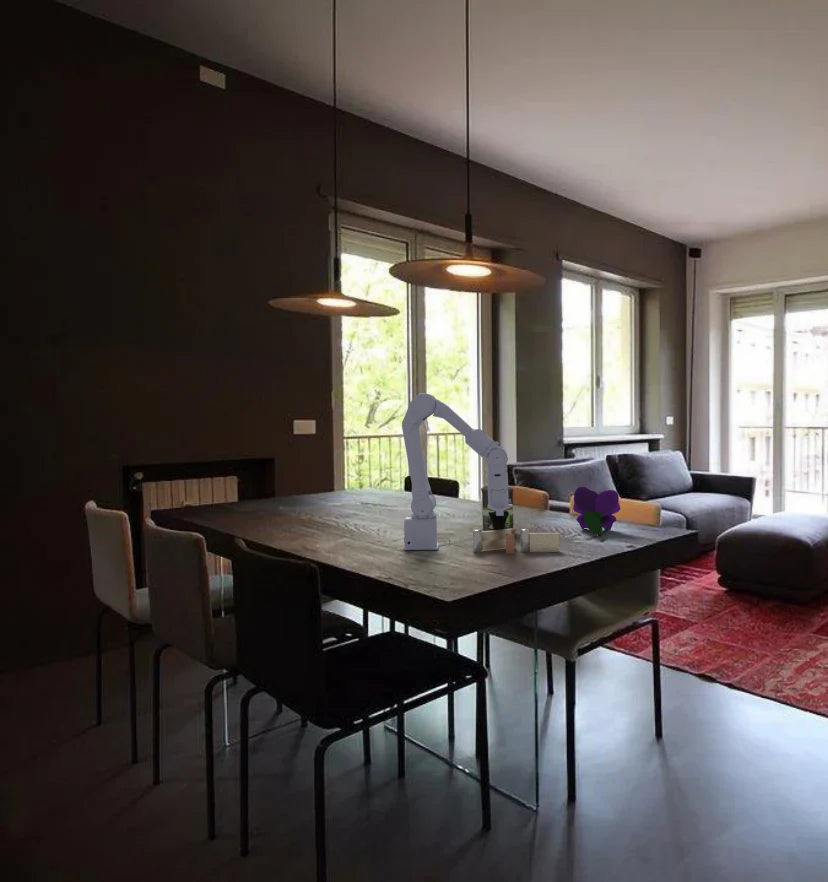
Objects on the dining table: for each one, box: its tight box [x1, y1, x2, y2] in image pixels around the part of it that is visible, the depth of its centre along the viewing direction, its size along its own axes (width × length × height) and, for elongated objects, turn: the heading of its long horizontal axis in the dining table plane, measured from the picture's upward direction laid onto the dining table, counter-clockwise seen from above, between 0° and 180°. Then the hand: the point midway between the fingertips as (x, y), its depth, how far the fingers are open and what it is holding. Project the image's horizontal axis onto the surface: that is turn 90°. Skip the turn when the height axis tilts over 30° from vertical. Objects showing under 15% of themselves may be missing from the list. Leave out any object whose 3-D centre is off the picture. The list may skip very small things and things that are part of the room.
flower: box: [572, 486, 621, 537], centre depth 198 cm, size 15×15×14 cm
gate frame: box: [472, 528, 560, 554], centre depth 175 cm, size 23×3×6 cm, turn 85°
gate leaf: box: [481, 527, 516, 551], centre depth 178 cm, size 10×2×5 cm, turn 111°
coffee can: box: [480, 486, 514, 532], centre depth 205 cm, size 10×10×14 cm
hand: (499, 537), depth 180 cm, fingers closed, pressing on gate leaf
